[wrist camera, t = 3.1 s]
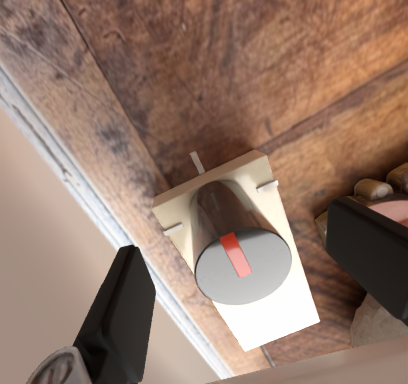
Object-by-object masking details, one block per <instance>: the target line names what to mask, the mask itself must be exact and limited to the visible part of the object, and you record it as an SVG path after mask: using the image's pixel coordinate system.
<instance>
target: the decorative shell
mask: <svg viewBox="0 0 408 384" xmlns="http://www.w3.org/2000/svg"><path fill="white" fill-rule="evenodd" d="M406 335H408V327H407V326H406V325H405V324H404V323H403V322H402V321H401V320H398V319H396V318H394V317H393V316H392V315H391V314H390V313H389V312H388V311H387V310H386V309H385V308H384V307H383V306H381V305H380V304H379V303H378V302H377V301H376V300H375V299H374V298H373V297H372V296H371V295H370V294H369V293H367V295H366V297H365V299H364V301H363V302H362V305H361V306H360V307H359V308H358V309H356V313H355V316H354V319H353V323H352V324H351V328H350V339H351V342H352V348H355V347H359V346H363V345H368V344H372V343H376V342H381V341H385V340H389V339H393V338H398V337H402V336H406Z"/></svg>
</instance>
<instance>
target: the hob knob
mask: <svg viewBox="0 0 408 384" xmlns="http://www.w3.org/2000/svg"><path fill="white" fill-rule="evenodd" d="M189 213H190V226H191V239H192V252H193V265H194V276H195V281H196V284H197V286H198V288H199V289H200V291H201V292H202V293H203V294H204V295H205V296H206V297H208V298H209V299H211V300H213V301H215V302H217V303H220V304H225V305H245V304H250V303H253V302H256V301H259V300H261V299H263V298H265V297H267V296H269V295H270V294H272V293H273V292H274V291H276V290H277V289H278V288H279V287H280V286H281V285H282V284H283V282H284V281H285V280H286V278H287V276H288V274H289V272H290V269H291V264H292V255H291V251H290V248H289V246H288V244H287V242H286V241H285V240H284V238H283V237H282V236H281V235H280V233H279V232H278V231H277V230H276V229H275V227H274V226H273V225H272V224H271V222H270V221H269V220H268V219H267V217H266V216H265V215H264V214H263V212H262V211H261V210H260V209H259V207H258V206H257V205H256V204H255V203H254V201H253V200H252V199H251V198H250V196H249V195H248V194H247V193H246V191H245V190H244V189H243V188H242V187H241V186H240V185H238V184H237V183H235V182H232V181H229V180H215V181H211V182H209V183H206V184H205V185H203V186H202V187H200V188H199V189H198V190H197V191H196V192H195V194H194V195H193V197H192V199H191V202H190V206H189Z"/></svg>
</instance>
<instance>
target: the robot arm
mask: <svg viewBox="0 0 408 384" xmlns="http://www.w3.org/2000/svg"><path fill="white" fill-rule="evenodd" d="M326 251H327V253H328V254H329V255H330V256H331V257H332V258H333V259H334V260H335V261H336V262H337V263H338V264H339V265H340V266H341V267H342V268H343V269H344V270H345V271H346V272H347V273H348V274H349V275H350V276H351V277H352V278H354V279H355V280H356V281H357V282H358V283H359V284H360V285H361V286H362V287H363V288H364V289H365V290H366V291H367V292H368V293H369V294H370V295H371V296H372V297H373V298H374V299H375V300H376V301H377V302H378V303H379V304H380V305H381V306H383V307H384V308H385V309H386V310H387V311H388V312H389V313H390V314H391V315H392V316H393V317H394V318H396V319H398V320H401V321H402V322H403V323H404V324H405V325H406V326H407V327H408V227H406V226H404V225H402V224H400V223H398V222H396V221H394V220H392V219H390V218H388V217H386V216H384V215H382V214H380V213H378V212H376V211H374V210H372V209H370V208H368V207H366V206H364V205H362V204H360V203H358V202H356V201H354V200H352V199H350V198H348V197H340V198H336V199H332V200H331V202H330V203H329V204H328V213H327V231H326ZM155 296H156V290H155V286H154V284H153V281H152V279H151V276H150V274H149V271H148V269H147V266H146V264H145V262H144V259H143V257H142V254H141V252H140V249H139V248H138V247H135V246H134V245H128V246H124V247H121V248H120V249H119V250H118V253H117V255H116V257H115V259H114V261H113V263H112V265H111V267H110V270H109V272H108V274H107V276H106V278H105V280H104V282H103V284H102V285H101V287H100V289H99V291H98V294H97V296H96V298H95V300H94V302H93V304H92V306H91V308H90V310H89V312H88V314H87V317H86V318H85V321H84V323H83V325H82V327H81V329H80V331H79V333H78V335H77V337H76V339H75V341H74V344H73V346H69V347H64V348H62V349H60V350H57V351H56V352H54V353H53V354H51V355H50V356H49V357H47V358H46V359H45V360H44V361H43V362H42V363H41V364H40V365H39V366H38V367H37V368H36V370H35V371H34V372H33V373H32V375H31V376H30V378H29V379H28V381H27V383H26V384H138V382H141V381H142V379H143V374H144V368H145V361H146V355H147V348H148V341H149V334H150V328H151V322H152V315H153V309H154V302H155ZM208 384H408V335H406V336H402V337H398V338H393V339H389V340H385V341H381V342H376V343H372V344H368V345H363V346H359V347H355V348H351V349H347V350H343V351H338V352H334V353H330V354H326V355H322V356H317V357H313V358H309V359H305V360H301V361H297V362H293V363H288V364H284V365H280V366H276V367H272V368H268V369H264V370H260V371H256V372H252V373H247V374H243V375H239V376H235V377H231V378H227V379H223V380H219V381H215V382H211V383H208Z"/></svg>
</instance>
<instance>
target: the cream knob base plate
mask: <svg viewBox="0 0 408 384" xmlns="http://www.w3.org/2000/svg"><path fill="white" fill-rule="evenodd" d="M190 155H191V158H192V160H193V162H194V164H195V166H196V168H197V170H198V172H199V174H202V173H204V172H205V170H204V168H203V166H202V164H201V162H200V160H199V158H198V156H197V153H196V151H193V152H191V153H190ZM215 180H229V181H232V182H235V183H237V184H238V185H240V186H241V187H242V188H243V189H244V190H245V191H246V193H247V194H248V195H249V196H250V198H251V199H252V200H253V201H254V203H255V204H256V205H257V206H258V207H259V209H260V210H261V211H262V212H263V214H264V215H265V216H266V217H267V219H268V220H269V221H270V222H271V224H272V225H273V226H274V227H275V229H276V230H277V231H278V232H279V233H280V235H281V236H282V237H283V238H284V240H285V241H286V242H287V244H288V246H289V248H290V251H291V255H292V264H291V269H290V272H289V274H288V276H287V278H286V280H285V281H284V282H283V284H282V285H281V286H280V287H279V288H278V289H277V290H276V291H274V292H273V293H272V294H270V295H269V296H267V297H265V298H263V299H261V300H259V301H256V302H253V303H250V304H245V305H225V304H220V303H217V302H215V301H213V300H211V299H210V300H211V301H212V303H213V304H214V306H215V307H216V309H217V310H218V312H219V313H220V315H221V316H222V318H223V319H224V321H225V322H226V324H227V325H228V327H229V328H230V330H231V332H232V333H233V335H234V336H235V338H236V339H237V341H238V342H239V344H240V345H241V347H242V348H243V350H244V351H247V350H250V349H252V348H255V347H258V346H260V345H263V344H265V343H268V342H270V341H273V340H275V339H278V338H280V337H283V336H285V335H288V334H290V333H293V332H295V331H298V330H300V329H303V328H305V327H308V326H310V325H313V324H315V323H318V322H320V319H319V316H318V313H317V310H316V307H315V303H314V300H313V297H312V294H311V291H310V288H309V285H308V282H307V279H306V276H305V273H304V269H303V266H302V263H301V260H300V257H299V254H298V251H297V248H296V245H295V242H294V239H293V236H292V232H291V229H290V226H289V223H288V220H287V217H286V214H285V211H284V208H283V205H282V202H281V199H280V195H279V192H278V189H277V185H279V184H278V181H277V179H276V180H274V177H273V174H272V171H271V168H270V165H269V162H268V158H267V155H266V154H264V153H262V152H260V151H258V150H256V149H254V150H252V151H250V152H248V153H246V154H244V155H242V156H239V157H237V158H235V159H233V160H231V161H229V162H227V163H225V164H223V165H221V166H218V167H216V168H214V169H212V170H210V171H208V172H206V173H204V174H202V175H199V176H197V177H195V178H193V179H191V180H189V181H187V182H185V183H183V184H181V185H178V186H176V187H174V188H172V189H170V190H168V191H166V192H164V193H162V194H159V195H157V196H155V198H154V201H153V204H152V207H151V210H152V212H153V213H154V215H155V216H156V218H157V219H158V221H159V222H160V224H161V225H162V227H163V228H164V230H165V231H163V233H164V235H165V236H167V235H168V236H169V237H170V239H171V241H172V242H173V244H174V245H175V247H176V248H177V250H178V251H179V253H180V254H181V256H182V257H183V259H184V260H185V262H186V263H187V265H188V266H189V268H190V269H191V271H192V272H193V274H194V265H193V252H192V239H191V226H190V213H189V206H190V202H191V199H192V197H193V195H194V194H195V192H196V191H197V190H198V189H199V188H200V187H202V186H203V185H205V184H206V183H209V182H211V181H215Z"/></svg>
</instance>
